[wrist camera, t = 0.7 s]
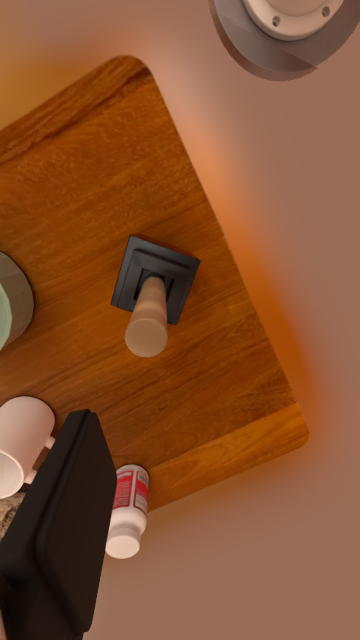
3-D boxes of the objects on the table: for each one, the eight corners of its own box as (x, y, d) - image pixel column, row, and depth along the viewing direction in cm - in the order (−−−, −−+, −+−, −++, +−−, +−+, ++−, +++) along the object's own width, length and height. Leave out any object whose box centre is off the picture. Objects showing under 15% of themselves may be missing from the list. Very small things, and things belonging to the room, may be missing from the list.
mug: (87, 424, 42) (64, 482, 32) (58, 456, 44) (29, 521, 34) (18, 384, 39) (-30, 435, 29) (-9, 420, 41) (-63, 480, 31)
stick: (148, 269, 25) (131, 312, 12) (167, 276, 25) (173, 325, 12) (141, 289, 25) (119, 351, 12) (161, 295, 26) (160, 362, 13)
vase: (139, 233, 33) (125, 234, 21) (190, 252, 34) (205, 264, 22) (124, 285, 35) (103, 313, 23) (173, 301, 36) (178, 336, 24)
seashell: (72, 491, 50) (51, 475, 43) (69, 538, 45) (44, 528, 38) (11, 507, 49) (-20, 493, 42) (1, 556, 44) (-37, 550, 37)
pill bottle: (109, 485, 46) (93, 558, 36) (119, 459, 45) (106, 528, 34) (142, 492, 47) (137, 565, 37) (153, 467, 46) (151, 537, 35)
